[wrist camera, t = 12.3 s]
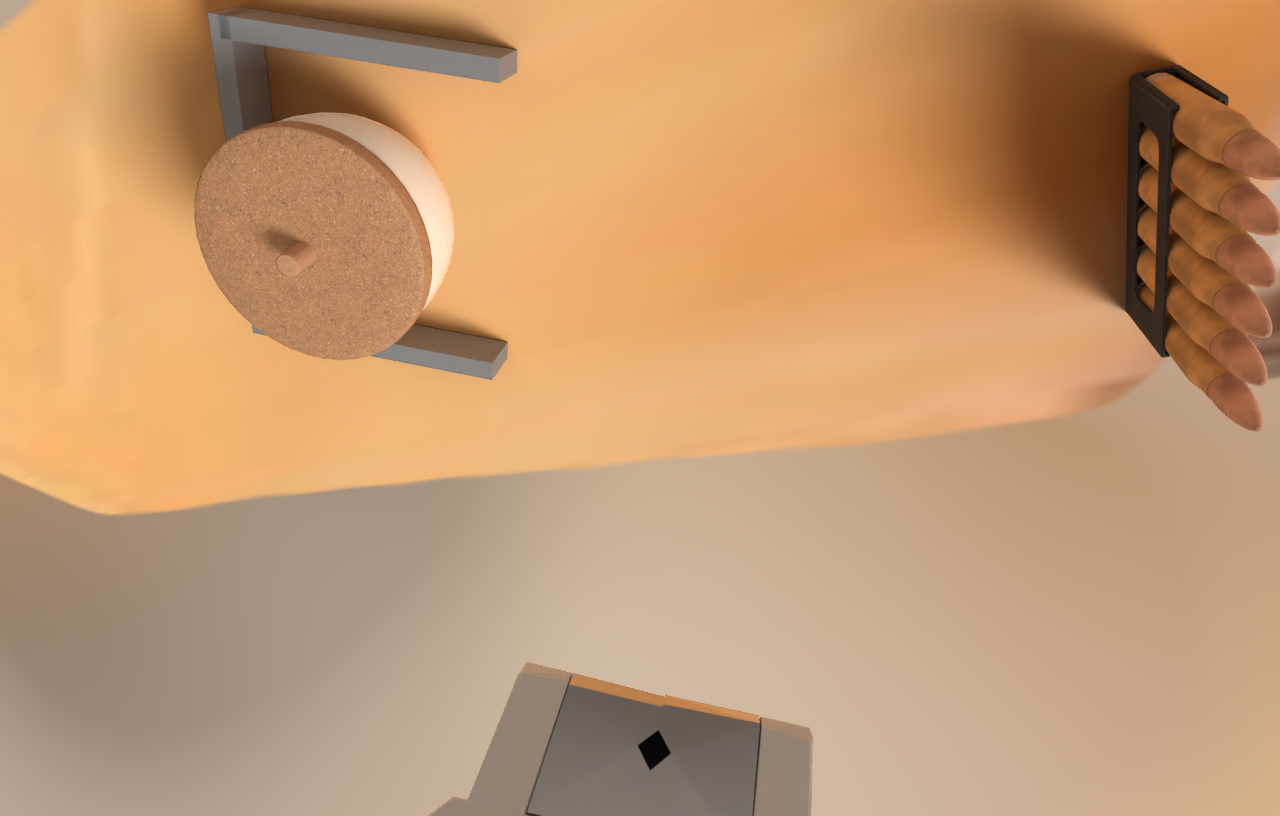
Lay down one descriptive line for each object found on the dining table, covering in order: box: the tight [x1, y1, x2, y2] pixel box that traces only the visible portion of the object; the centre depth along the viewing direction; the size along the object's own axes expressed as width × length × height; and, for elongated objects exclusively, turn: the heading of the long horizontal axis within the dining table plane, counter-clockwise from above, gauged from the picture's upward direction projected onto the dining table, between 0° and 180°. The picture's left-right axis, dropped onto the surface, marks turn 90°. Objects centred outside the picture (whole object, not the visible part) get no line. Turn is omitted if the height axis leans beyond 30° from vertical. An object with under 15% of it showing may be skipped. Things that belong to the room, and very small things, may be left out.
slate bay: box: [208, 7, 517, 380], centre depth 43 cm, size 14×16×2 cm
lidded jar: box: [195, 112, 454, 360], centre depth 40 cm, size 11×11×9 cm
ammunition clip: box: [1126, 65, 1280, 432], centre depth 32 cm, size 11×2×12 cm, turn 14°
